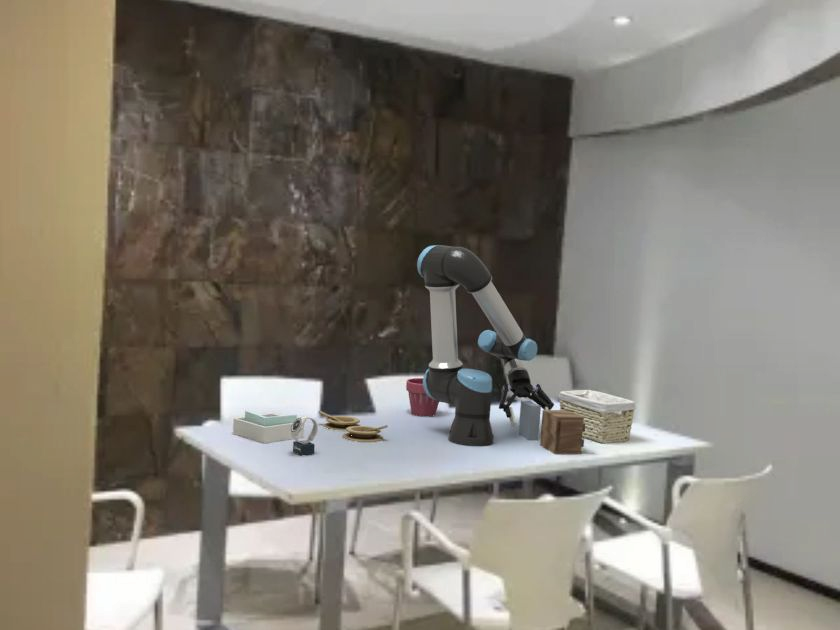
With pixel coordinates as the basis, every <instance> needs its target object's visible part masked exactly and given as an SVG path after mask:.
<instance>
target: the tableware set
mask: <svg viewBox="0 0 840 630" xmlns="http://www.w3.org/2000/svg"><path fill="white" fill-rule="evenodd" d="M317 414H319V415H322V416H324V417H326V423H324V424H323V428H324V427H326V428H328V429H327V430H330V429H333V430H332V431H335V430H346V431H345V433H343V434H342V438H343V439H344V438H345V439H344V440H346V439H348V440H347V441H350V440H351V442H355V441H357V442H356V443H377V441H378V442H381V441H383V440H384V436H383V435H381V434H379V433H381V432H382V431H381V430H383V429H387V428H388V425H383V426H379V427H375V426H370V425H369V426H367V425H361V424H359V423H360V422H361V421H360V419H359V418H357V417H354V416H348V415H347V416H346V415H333V416H332V415H330V414H328V413H326V412H324V411H322V410H318V413H317ZM326 428H325V429H326ZM351 435H352V436H351Z"/></svg>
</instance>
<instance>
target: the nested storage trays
mask: <svg viewBox="0 0 840 630" xmlns="http://www.w3.org/2000/svg"><path fill="white" fill-rule="evenodd" d="M260 415H261V416H264V417H273V416H282V415H280V414H276V413H273V412H272V413H265V414H260ZM292 424H293V423H289V424H282V425H275V426H268V427H264V426H261V425H258V424H254V423H251V422H247V421H245V416H242V417H235V418H233V424H232V434H233V435H236V436H238V437H243V438H246V439H249V440H252V441H256V442H258V443H262V444H270V443H276V442H283V441H287V440H288V441H289V440H294V438H293V437H292V434H291V426H292ZM304 432H305V426H304V427H303V429H302V430H301V431H300V433H298V436H296V437H297V439H301V437H302V438H304V435H305V433H304Z"/></svg>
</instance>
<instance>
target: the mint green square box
mask: <svg viewBox="0 0 840 630" xmlns="http://www.w3.org/2000/svg"><path fill="white" fill-rule="evenodd" d="M261 415H262V414H259V413H256V412H253V411H251V410H244V417H245V421H247V422H251V423H254V424H258V425H261V426H264V427H268V426H275V425H282V424H289V423H293V422H294V421H295V420H296V419H297V418H298V415H297V414H296V413H295V414H284V415H281V416H273V417H264V416H261Z"/></svg>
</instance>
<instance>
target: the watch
mask: <svg viewBox="0 0 840 630" xmlns="http://www.w3.org/2000/svg"><path fill="white" fill-rule="evenodd" d="M307 420H310V421H312V424H313V426H312V429H311V431H310V433H309V435H308V437H307V439H305V440H299V438H297V437H296V436H298V433H300V431H301V430H302V429H303V427H304V428H305V422H306V421H307ZM318 431H319V425H318V423H317V421H316V420H315V418H312V417H309V416H308V415H307V416H306V415H305V416H304V415H302V416H299V417H297V419H296V420H295V421H294V422H293V424H292V426H291V434H292V437H293V438H294V439H293V440H294V441H293V443H292V452H293V453H294V454H297V455H298V456H300V455H301V457H303V456H302V455H305V456H313V455H312V454H314V455H315V443H312V441H314V439H315V438H316V436H317V433H318Z"/></svg>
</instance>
